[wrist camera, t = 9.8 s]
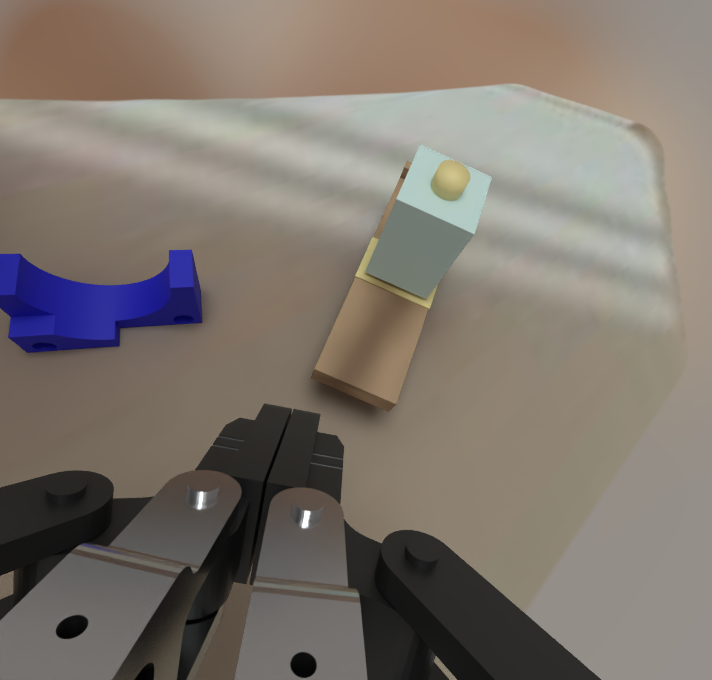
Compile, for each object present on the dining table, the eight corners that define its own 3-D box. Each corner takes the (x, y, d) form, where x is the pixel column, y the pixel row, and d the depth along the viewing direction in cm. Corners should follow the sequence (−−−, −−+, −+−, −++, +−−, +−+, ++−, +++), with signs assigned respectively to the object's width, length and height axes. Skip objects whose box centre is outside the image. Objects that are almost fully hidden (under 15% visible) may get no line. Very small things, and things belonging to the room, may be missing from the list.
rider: (364, 272, 33) (402, 184, 24) (385, 224, 35) (426, 128, 27) (426, 299, 33) (483, 220, 25) (443, 249, 35) (501, 163, 27)
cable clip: (28, 353, 32) (-17, 317, 27) (34, 298, 34) (-8, 254, 28) (203, 341, 35) (194, 306, 30) (200, 291, 37) (191, 249, 31)
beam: (304, 393, 35) (316, 362, 28) (383, 215, 44) (406, 160, 37) (374, 424, 35) (402, 399, 29) (439, 240, 44) (472, 190, 37)
